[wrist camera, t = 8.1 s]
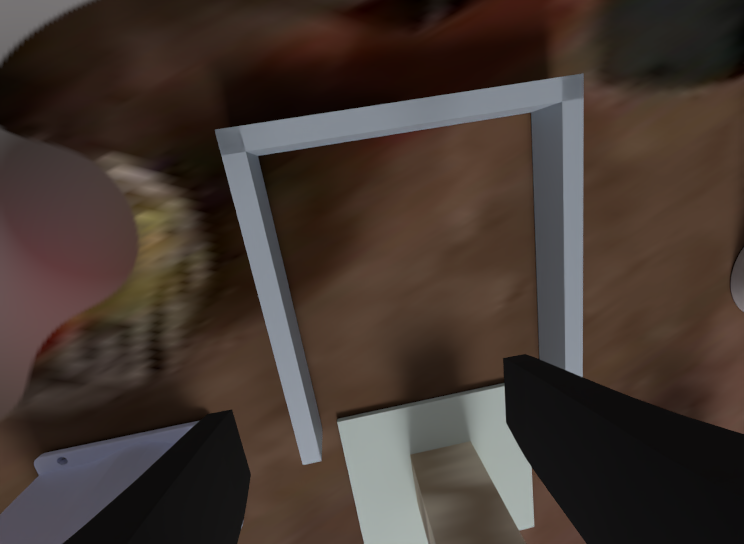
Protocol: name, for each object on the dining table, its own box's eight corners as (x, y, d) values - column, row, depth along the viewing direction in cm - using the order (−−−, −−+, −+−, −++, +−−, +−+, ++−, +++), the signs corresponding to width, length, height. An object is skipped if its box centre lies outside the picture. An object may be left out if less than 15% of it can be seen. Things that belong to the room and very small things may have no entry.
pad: (368, 562, 24) (369, 567, 24) (337, 418, 21) (337, 422, 21) (531, 522, 25) (534, 526, 25) (524, 378, 22) (527, 381, 22)
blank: (417, 503, 23) (453, 636, 16) (409, 454, 22) (445, 575, 15) (475, 490, 23) (534, 615, 17) (470, 441, 22) (531, 553, 16)
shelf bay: (306, 432, 21) (303, 465, 19) (231, 137, 17) (214, 129, 14) (555, 378, 22) (582, 402, 20) (548, 88, 18) (583, 73, 15)
